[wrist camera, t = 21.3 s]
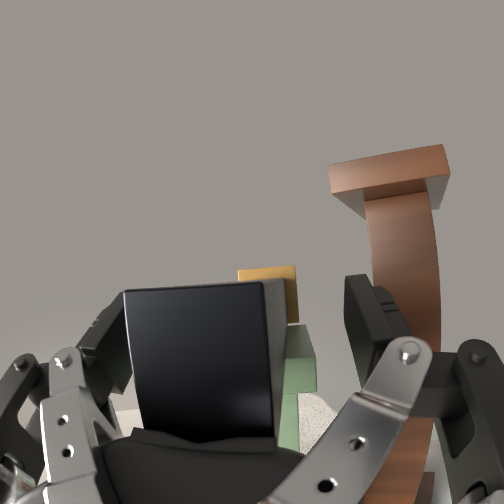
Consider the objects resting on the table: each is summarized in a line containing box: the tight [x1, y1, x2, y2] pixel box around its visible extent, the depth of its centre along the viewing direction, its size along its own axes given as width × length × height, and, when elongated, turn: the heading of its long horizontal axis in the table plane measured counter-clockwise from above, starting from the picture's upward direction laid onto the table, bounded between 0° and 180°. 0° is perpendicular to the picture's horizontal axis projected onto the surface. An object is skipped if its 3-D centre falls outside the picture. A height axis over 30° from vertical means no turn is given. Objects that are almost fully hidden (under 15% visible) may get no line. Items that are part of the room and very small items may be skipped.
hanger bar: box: [123, 265, 299, 443], centre depth 16 cm, size 22×5×5 cm, turn 173°
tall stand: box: [327, 144, 450, 504], centre depth 20 cm, size 12×9×32 cm
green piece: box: [278, 325, 317, 453], centre depth 18 cm, size 10×6×21 cm, turn 173°
